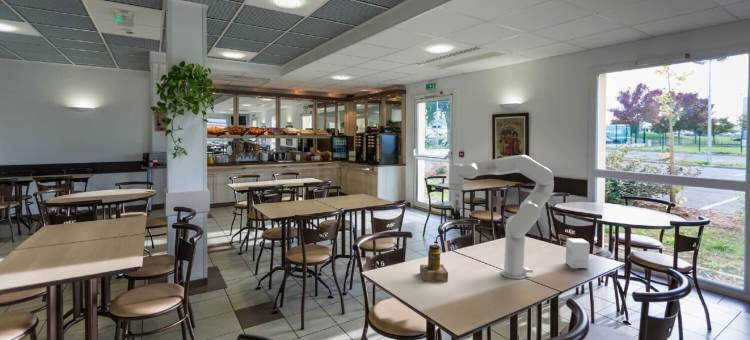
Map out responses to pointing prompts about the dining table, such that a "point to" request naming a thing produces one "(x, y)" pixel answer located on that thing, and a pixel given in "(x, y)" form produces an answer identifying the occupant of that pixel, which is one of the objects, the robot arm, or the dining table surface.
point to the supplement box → (577, 253)
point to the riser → (434, 274)
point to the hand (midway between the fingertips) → (455, 217)
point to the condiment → (433, 259)
